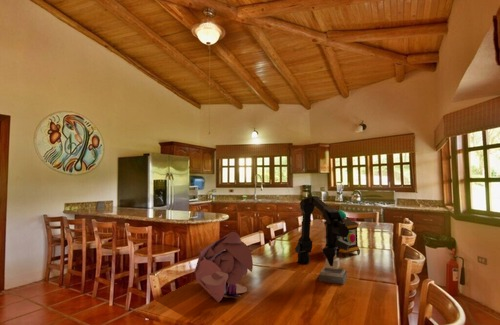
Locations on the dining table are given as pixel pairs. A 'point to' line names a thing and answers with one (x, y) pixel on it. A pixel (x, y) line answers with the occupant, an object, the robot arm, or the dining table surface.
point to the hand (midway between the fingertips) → (332, 264)
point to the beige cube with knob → (335, 263)
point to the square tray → (333, 275)
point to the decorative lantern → (349, 235)
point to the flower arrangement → (224, 267)
